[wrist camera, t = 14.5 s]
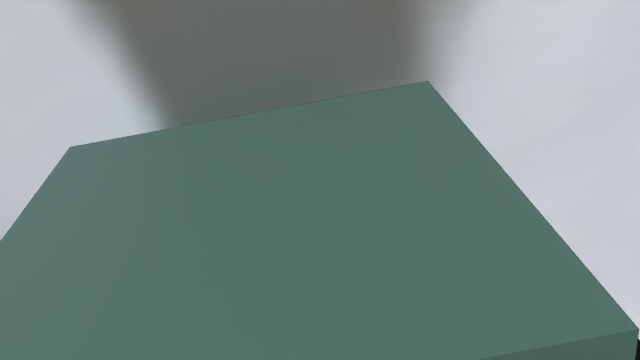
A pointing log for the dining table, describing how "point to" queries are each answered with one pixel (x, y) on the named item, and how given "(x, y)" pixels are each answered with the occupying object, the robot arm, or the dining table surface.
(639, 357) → the robot arm
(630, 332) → the teal block
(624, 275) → the dining table surface
